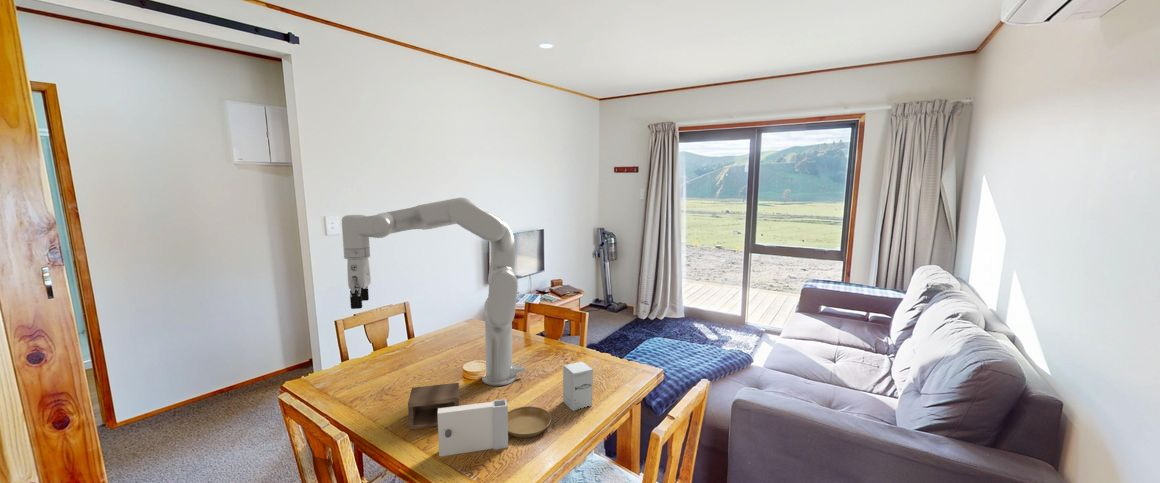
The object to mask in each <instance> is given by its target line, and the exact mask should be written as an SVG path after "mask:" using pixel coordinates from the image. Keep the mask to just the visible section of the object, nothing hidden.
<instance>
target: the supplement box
mask: <svg viewBox="0 0 1160 483" xmlns="http://www.w3.org/2000/svg"><path fill="white" fill-rule="evenodd" d="M593 370H594V369H593V368H592V367H591V366H590V365H588V364H586V363H585V362H584V361H579V362H574V363H568V364H564V365H562V402H563V403H564V404H565V405H566V406H567V407H568V409H570V410H571V411H572V412H574V411H577V410H581V409H585V408H588V407H587V406H589V407H592V406H593V380H594V378H593V377H594V374H593V372H594V371H593ZM591 405H592V406H591ZM584 407H585V408H584ZM580 408H581V409H580Z"/></svg>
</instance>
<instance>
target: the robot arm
mask: <svg viewBox="0 0 1160 483" xmlns="http://www.w3.org/2000/svg"><path fill="white" fill-rule="evenodd" d="M451 225H452V226H453V225H459V226H460V227H461V228H463V229H464V230H466V231H468V232H470V233H471V234H474V235H475V236H477V237H479V238H480V239H482V240H484V241H485V242H489V243H490V246H491V247H490V248H491V250H490V264H489V271H488V275H487V276H488V278H487V283H488V293H487V294H488V297H487V298H486V300H485V302H484V305H483V306H484V307H483V311H484V312H483V315H484V333H485V334H484V335H485V336H484V337H485V339H484V340H485V342H484V343H485V346H484V347H485V372H486V376H485V377H482V376H481V382H483V384H485V385H489V386H493V387H494V386H495V387H497V386H499V387H500V386H505V385H509V384H511V383H513V382H515V381H516V379H517V378H518V377H517V376H518V374H520V373H522V374H523V373H526V367H525V366H523V367H522V365H515V364H514V362H513V323H512V322H513V321H514V320H515V319H514V318H515V315H516V314H515V313H516V306H517V297H518V289H519V288H518V286H519V284H518V278H517V275H516V274H515V265H516V264H515V262H516V240H515V236H514V233H513V231H512V229H511V227H510V226H509V225H508V224H507V223H506V222H505V221H504V220H503V219H501V218H500V217H499V216H497V215H495V214H492V213H490V212H488V211H486V210H484V209H483V208H481V207H479V206H478V205H476V204H475V203H474V202H472V201H471V200H470V199H468V198H466V197H455V198H451V199H445V200H440V201H434V202H428V203H423V204H419V205H415V206H413V207H408V208H402V209H396V210H393V211H392V210H391V211H386V212H380V213H378V214H375V215H367V216H366V215H364V214H347V215H344V216H342V218H341V229H342V230H341V232H342V245H343V246H342V248H343V259H344V260H345V259H346V260H347V261H346V262H347V270H346V271H347V285H348V289H350V290H349V292H350V293H349V300H350V301H349V302H350V303H349V304H350V309H351V310H355V309H362V308H363V302H364V301H369V299H370V295H369V285H370V284H371V282H372V279H371V270H370V268H371V267H370V261H369V258H371V251H370V250H371V249H370V238H373V239H383V238H386V237H387V236H389V235H390V234H395V233H400V232H406V231H410V230H423V231H424V230H433V229H437V228H441V227H447V226H451Z"/></svg>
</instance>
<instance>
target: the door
mask: <svg viewBox="0 0 1160 483" xmlns="http://www.w3.org/2000/svg"><path fill="white" fill-rule="evenodd" d="M508 408H509V407H508V403H507V398H504V399H503V398H502V399H495V400H491V401H488V402H479V403H471V404H464V405H460V406H454V407H446V408H438V426H437V429H438V430H437V434H438V436H437V437H438V438H437V439H438V456H439V457H447V456H453V455H459V454H466V453H473V452H478V451H479V452H480V451H485V450H486V451H487V450H492V449H493V450H494V451H495V450H496V451H497V450H501V449H508V448H509V433H508V412H509V411H508V410H509V409H508Z"/></svg>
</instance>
